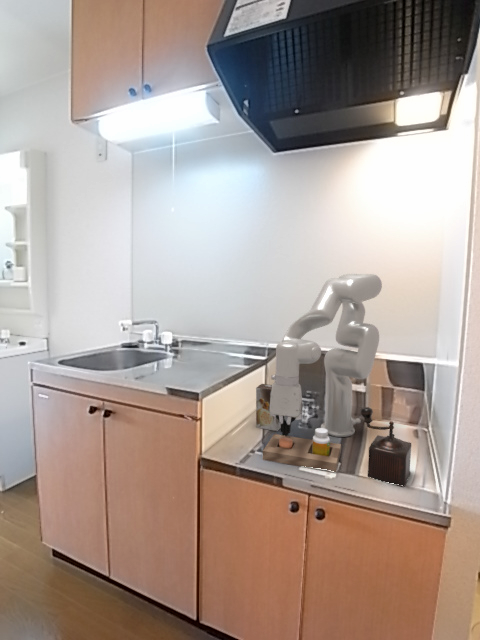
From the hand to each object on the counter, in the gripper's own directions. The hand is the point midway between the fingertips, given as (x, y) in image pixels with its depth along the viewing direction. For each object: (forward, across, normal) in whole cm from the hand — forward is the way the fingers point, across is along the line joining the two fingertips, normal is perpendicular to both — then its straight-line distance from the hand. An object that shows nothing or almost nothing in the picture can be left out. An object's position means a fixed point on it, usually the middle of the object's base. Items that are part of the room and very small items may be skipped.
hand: (285, 434), depth 126 cm
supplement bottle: (+7, +12, 0) cm, 14 cm away
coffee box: (+7, -11, +20) cm, 24 cm away
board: (+7, +6, 0) cm, 9 cm away
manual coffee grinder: (+7, +30, -1) cm, 31 cm away
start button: (+5, 0, 0) cm, 5 cm away
